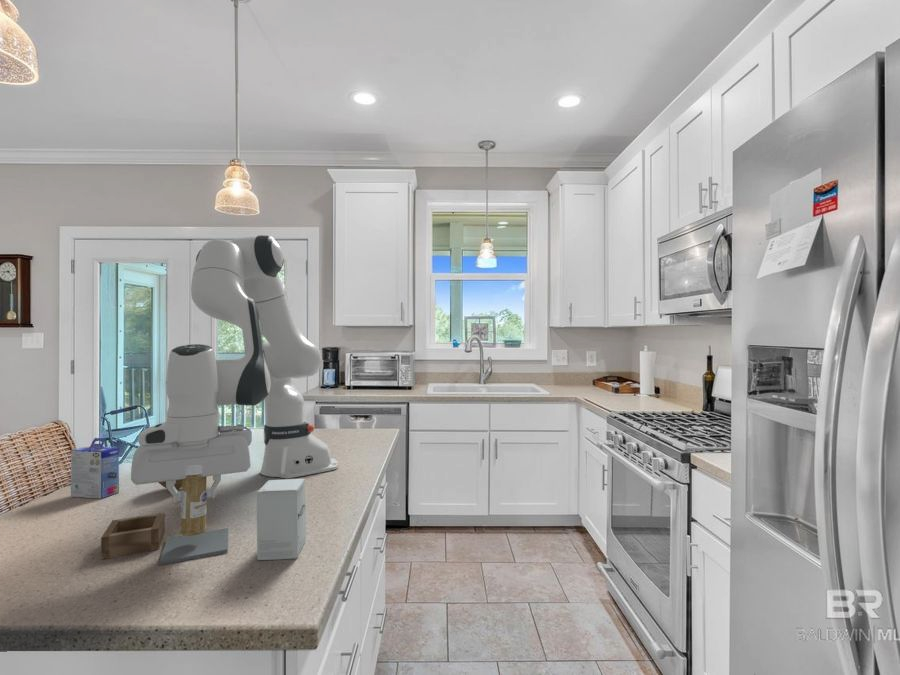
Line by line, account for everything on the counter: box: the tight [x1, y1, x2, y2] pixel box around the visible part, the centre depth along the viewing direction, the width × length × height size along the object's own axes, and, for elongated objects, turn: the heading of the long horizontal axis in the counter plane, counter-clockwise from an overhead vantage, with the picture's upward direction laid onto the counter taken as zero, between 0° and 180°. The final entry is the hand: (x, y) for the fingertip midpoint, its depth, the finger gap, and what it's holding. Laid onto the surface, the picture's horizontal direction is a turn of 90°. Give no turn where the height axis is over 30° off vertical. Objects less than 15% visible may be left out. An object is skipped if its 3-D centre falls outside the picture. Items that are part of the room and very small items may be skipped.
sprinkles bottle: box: [179, 465, 208, 536], centre depth 91 cm, size 5×5×13 cm
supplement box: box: [256, 478, 307, 561], centre depth 89 cm, size 7×7×13 cm
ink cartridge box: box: [70, 437, 120, 499], centre depth 122 cm, size 10×6×14 cm, turn 78°
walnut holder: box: [100, 512, 166, 560], centre depth 92 cm, size 9×9×4 cm
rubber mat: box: [158, 527, 229, 566], centre depth 91 cm, size 11×11×1 cm
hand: (194, 499), depth 91 cm, fingers closed on sprinkles bottle, 4 cm apart
